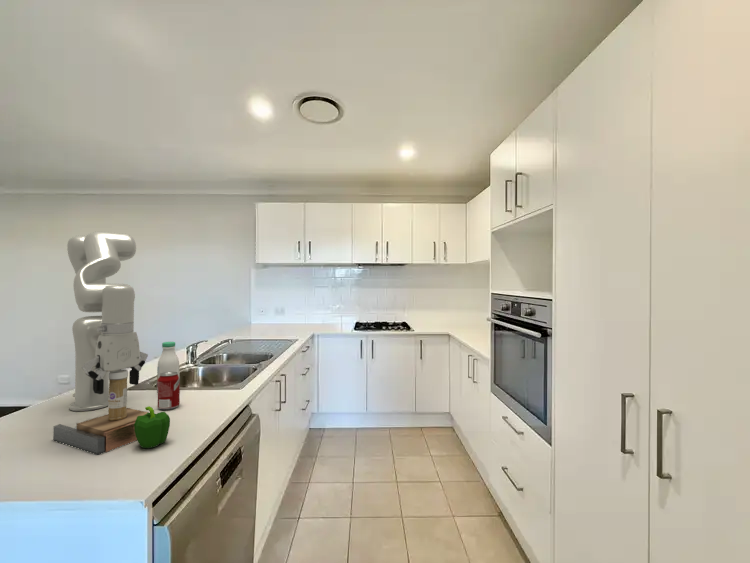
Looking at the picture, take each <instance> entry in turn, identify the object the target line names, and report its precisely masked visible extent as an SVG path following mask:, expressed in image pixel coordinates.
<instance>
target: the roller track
mask: <svg viewBox="0 0 750 563" xmlns="http://www.w3.org/2000/svg"><path fill="white" fill-rule="evenodd" d="M127 408H128V407H126V409H127ZM134 424H135V422H133V423H130V424H127V425H124V426H121V427H118V428H115V429H112V430H109V431H106V432H104V437H103V436H100V435H96V434H93V433H89V432H86V431H82V430H78V429H77V426H75V427H71V426H67V425H64V424H57V425H54V426H53V429H52V430H53V431H52V433H53V435H52V438H53V440H54V441H53V440H52V441H53V442H55V441H57V443H59V442H61V443H60V444H62V443H64V444H63V445H65V444H67V445H66V446H68V445H70V446H69V447H71V446H73V447H72V448H74V447H76V448H75V449H77V448H79V449H78V450H81V449H82V450H81V451H84V450H85V451H84V452H87V451H88V452H87V453H90V452H91V453H90V454H93V453H94V455H96V454H97V455H96V456H99V455H102V454H104V453H107V452H110V450H111V451H113V450H115V448H116V449H118V448H121V447H123V446H122V445H124V446H126V445H128V443H129V444H131V443H134V442H136V441H137V438H136V435H135V430H134ZM133 441H134V442H133ZM130 442H131V443H130ZM125 444H126V445H125ZM120 446H121V447H120ZM117 447H118V448H117ZM112 449H113V450H112ZM101 453H102V454H101Z"/></svg>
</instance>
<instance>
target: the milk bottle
mask: <svg viewBox="0 0 750 563" xmlns="http://www.w3.org/2000/svg"><path fill="white" fill-rule="evenodd" d="M161 349H162V352H161V355H160V357H159V359H158V362H157V366H156V367H157V373H156V374H157V375H156V381H157V382H156V393H157V394H158V379H159V377H160V374H161V373H164V372H178V376H179V377H180V360H179V357H178V354H176V341H164V342H162V343H161Z"/></svg>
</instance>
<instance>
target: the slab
mask: <svg viewBox="0 0 750 563" xmlns="http://www.w3.org/2000/svg"><path fill="white" fill-rule="evenodd" d="M126 408H127V409H126V414H127V416H126V417H125V418H123V419H120V420H108V413H107V414H104V415H101V416H97V417H94V418H91V419H88V420H87V419H86V420H84V421H81V422H77V423H76V427H77V429H78V430H82V431H86V432H89V433H93V434H96V435H100V436H103V437H104V432H106V431H109V430H112V429H115V428H118V427H121V426H124V425H127V424H130V423H133V422H135V421H136V419H137V417H138V416H141V415H145V414H147V413H148V411H143V410H140V409H139V410H138V409H134V408H132V407H131V408H130V407H126Z"/></svg>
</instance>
